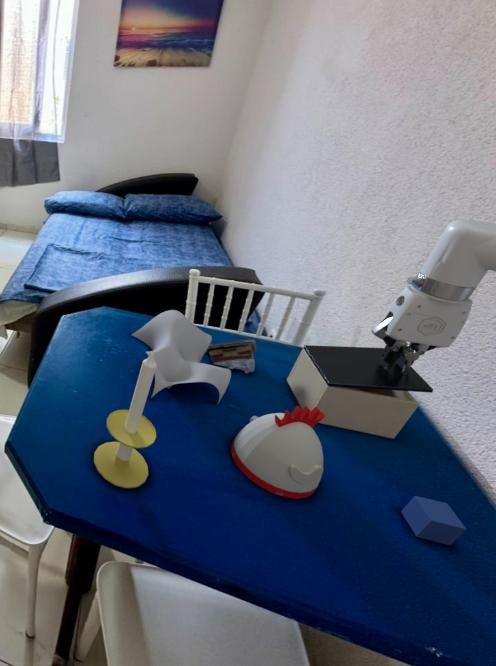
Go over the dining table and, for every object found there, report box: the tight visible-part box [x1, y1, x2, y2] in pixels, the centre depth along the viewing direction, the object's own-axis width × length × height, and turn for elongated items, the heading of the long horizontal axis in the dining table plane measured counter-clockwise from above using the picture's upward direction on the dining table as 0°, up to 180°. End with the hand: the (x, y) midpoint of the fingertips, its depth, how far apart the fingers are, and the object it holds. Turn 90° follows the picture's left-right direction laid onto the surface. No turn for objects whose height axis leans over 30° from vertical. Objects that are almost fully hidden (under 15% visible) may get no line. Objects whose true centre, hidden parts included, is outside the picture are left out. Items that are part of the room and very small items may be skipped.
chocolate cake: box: [205, 338, 258, 374], centre depth 103 cm, size 10×7×12 cm
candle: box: [93, 350, 157, 489], centre depth 70 cm, size 10×10×27 cm
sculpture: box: [131, 309, 232, 406], centre depth 100 cm, size 25×19×10 cm
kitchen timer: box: [230, 405, 326, 500], centre depth 74 cm, size 14×14×15 cm
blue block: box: [400, 495, 467, 546], centre depth 67 cm, size 4×4×4 cm
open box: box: [286, 347, 420, 440], centre depth 89 cm, size 16×14×10 cm
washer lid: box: [303, 341, 434, 394], centre depth 85 cm, size 16×14×7 cm
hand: (393, 364), depth 84 cm, fingers closed on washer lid, 2 cm apart
